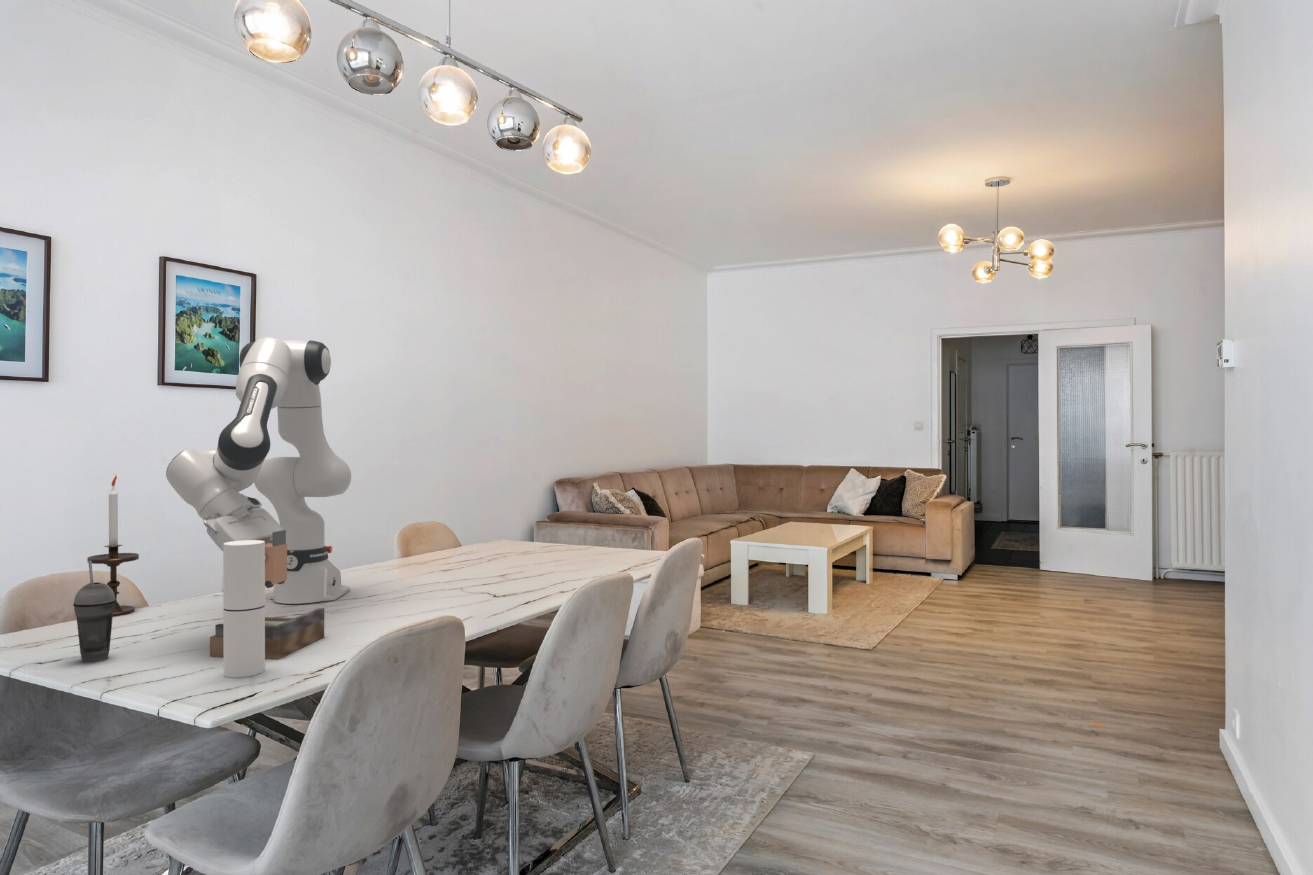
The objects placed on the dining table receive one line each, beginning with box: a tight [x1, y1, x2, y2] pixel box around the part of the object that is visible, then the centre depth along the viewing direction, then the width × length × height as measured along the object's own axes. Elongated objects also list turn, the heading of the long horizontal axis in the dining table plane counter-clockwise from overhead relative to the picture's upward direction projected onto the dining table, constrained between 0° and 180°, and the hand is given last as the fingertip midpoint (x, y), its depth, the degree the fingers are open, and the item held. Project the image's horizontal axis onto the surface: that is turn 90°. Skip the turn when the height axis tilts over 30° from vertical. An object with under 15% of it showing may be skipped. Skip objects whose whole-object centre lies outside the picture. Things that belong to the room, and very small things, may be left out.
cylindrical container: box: [222, 540, 266, 679], centre depth 158 cm, size 7×7×25 cm
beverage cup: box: [72, 561, 116, 663], centre depth 166 cm, size 7×7×20 cm
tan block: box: [265, 530, 287, 589], centre depth 176 cm, size 5×5×12 cm
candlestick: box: [86, 474, 140, 617], centre depth 207 cm, size 11×11×35 cm
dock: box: [209, 607, 325, 660], centre depth 177 cm, size 18×15×6 cm
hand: (272, 558), depth 176 cm, fingers closed on tan block, 5 cm apart
